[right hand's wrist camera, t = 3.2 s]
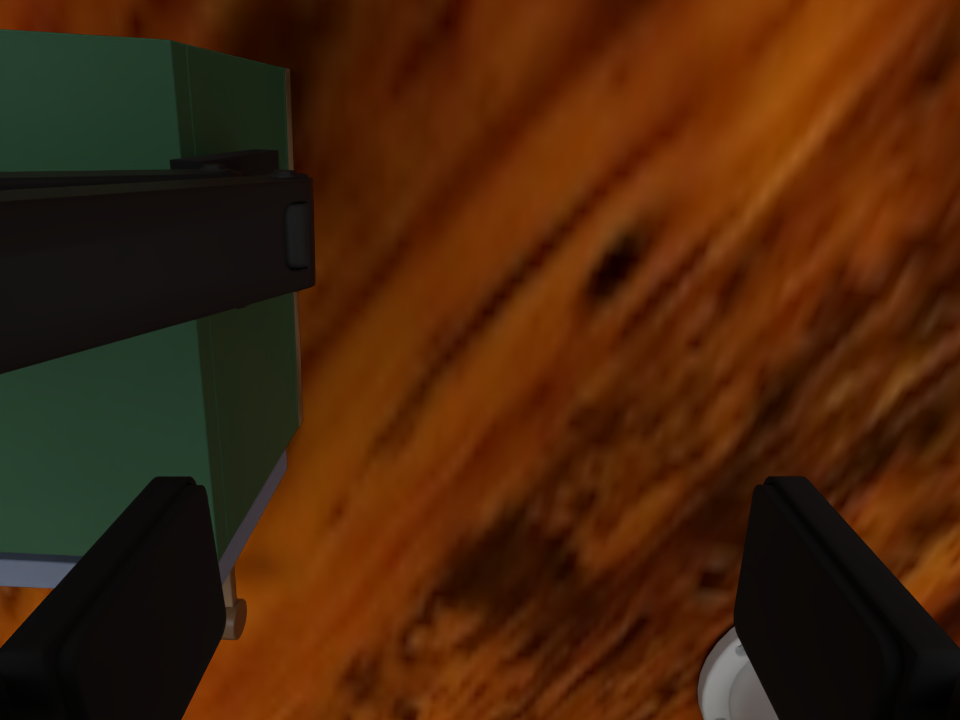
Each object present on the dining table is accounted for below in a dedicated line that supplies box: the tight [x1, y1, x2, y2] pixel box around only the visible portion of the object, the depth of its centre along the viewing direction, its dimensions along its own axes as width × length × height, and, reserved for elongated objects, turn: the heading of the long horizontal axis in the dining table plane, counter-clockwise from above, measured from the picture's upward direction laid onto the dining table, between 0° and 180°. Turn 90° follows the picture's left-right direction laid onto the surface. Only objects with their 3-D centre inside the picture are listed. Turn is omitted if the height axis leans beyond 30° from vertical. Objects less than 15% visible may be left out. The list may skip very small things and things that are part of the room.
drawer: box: [0, 449, 287, 640], centre depth 28 cm, size 21×10×10 cm, turn 177°
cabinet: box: [0, 29, 303, 562], centre depth 26 cm, size 16×11×12 cm, turn 177°
